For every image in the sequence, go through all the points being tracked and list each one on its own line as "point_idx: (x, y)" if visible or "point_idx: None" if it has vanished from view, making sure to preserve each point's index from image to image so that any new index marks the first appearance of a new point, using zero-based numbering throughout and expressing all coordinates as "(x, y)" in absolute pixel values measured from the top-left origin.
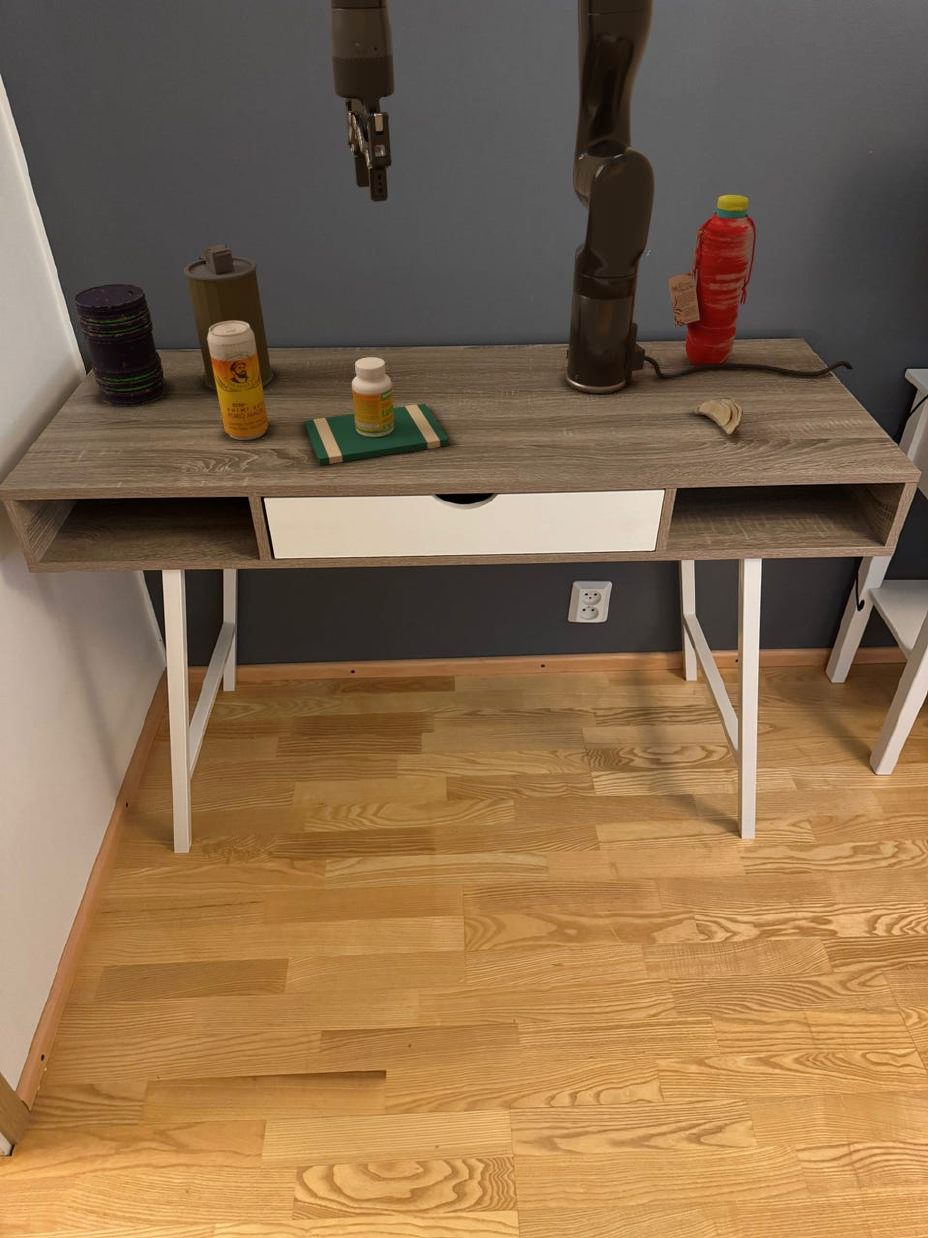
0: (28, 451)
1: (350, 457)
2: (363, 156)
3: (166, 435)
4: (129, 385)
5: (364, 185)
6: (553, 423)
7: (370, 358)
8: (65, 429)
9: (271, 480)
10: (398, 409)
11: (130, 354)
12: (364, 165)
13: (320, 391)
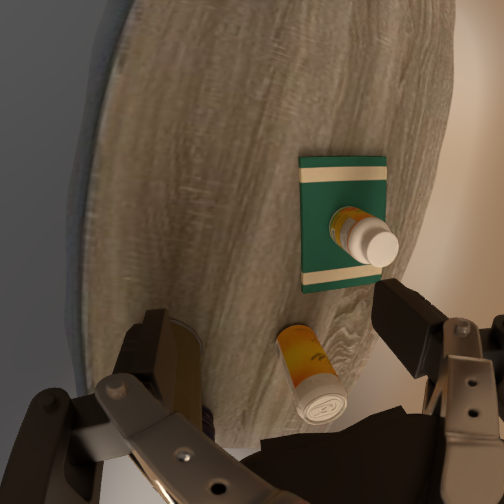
0: None
1: None
2: (157, 398)
3: (278, 392)
4: (214, 430)
5: (171, 333)
6: (363, 41)
7: (372, 247)
8: (245, 443)
9: None
10: (308, 192)
11: None
12: (164, 372)
13: (214, 270)
